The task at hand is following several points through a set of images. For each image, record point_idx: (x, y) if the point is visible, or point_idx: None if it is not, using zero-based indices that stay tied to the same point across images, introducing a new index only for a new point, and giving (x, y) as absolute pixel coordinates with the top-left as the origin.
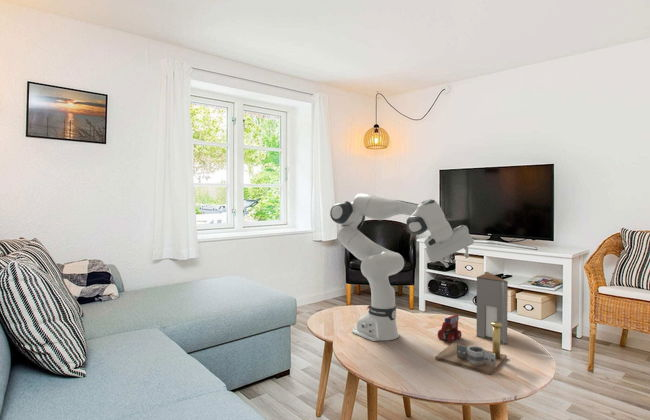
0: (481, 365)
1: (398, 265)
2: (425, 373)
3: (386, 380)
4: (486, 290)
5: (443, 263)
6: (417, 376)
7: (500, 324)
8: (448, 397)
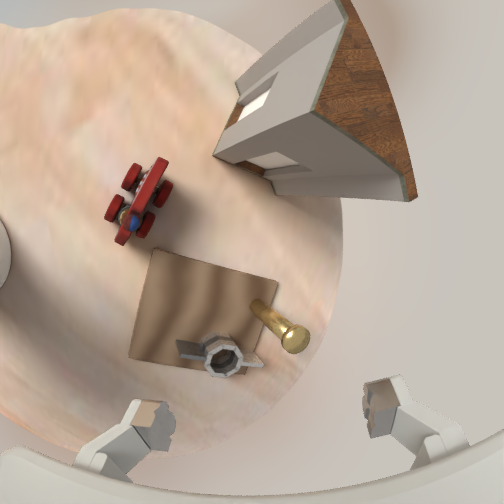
0: None
1: None
2: None
3: None
4: (317, 146)
5: (132, 457)
6: None
7: (305, 347)
8: (186, 453)
